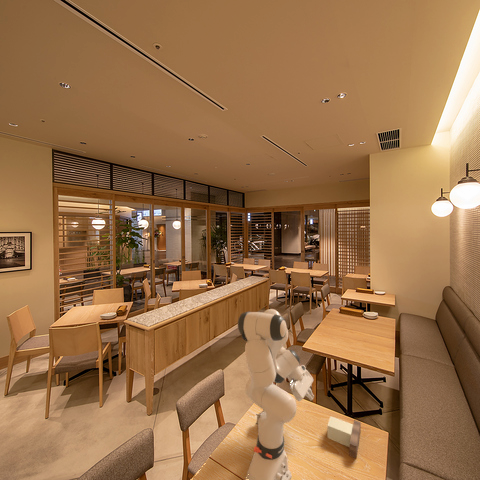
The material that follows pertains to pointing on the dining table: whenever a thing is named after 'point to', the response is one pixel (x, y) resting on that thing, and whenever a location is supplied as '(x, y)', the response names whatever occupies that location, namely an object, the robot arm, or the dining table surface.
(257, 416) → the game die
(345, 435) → the cream rectangular block
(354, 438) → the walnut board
